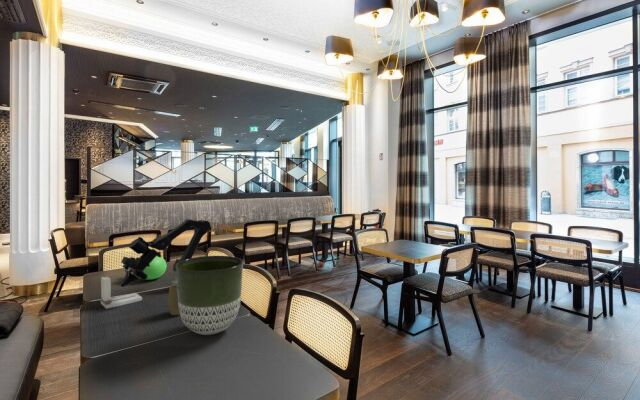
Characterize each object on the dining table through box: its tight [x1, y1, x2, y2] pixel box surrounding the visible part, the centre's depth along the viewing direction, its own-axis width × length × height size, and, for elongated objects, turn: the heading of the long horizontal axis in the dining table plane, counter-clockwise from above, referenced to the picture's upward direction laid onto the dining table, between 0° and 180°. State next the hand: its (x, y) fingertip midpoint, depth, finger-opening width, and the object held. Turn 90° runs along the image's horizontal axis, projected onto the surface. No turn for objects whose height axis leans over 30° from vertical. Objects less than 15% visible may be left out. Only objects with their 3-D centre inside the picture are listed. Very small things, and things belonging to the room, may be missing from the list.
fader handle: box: [100, 275, 112, 304], centre depth 149 cm, size 3×6×11 cm, turn 47°
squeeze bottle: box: [167, 274, 180, 316], centre depth 142 cm, size 8×8×18 cm
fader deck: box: [100, 292, 143, 310], centre depth 154 cm, size 15×9×2 cm, turn 138°
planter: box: [175, 255, 244, 336], centre depth 125 cm, size 24×24×27 cm
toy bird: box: [139, 256, 168, 281], centre depth 191 cm, size 18×17×15 cm
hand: (121, 286), depth 154 cm, fingers closed
